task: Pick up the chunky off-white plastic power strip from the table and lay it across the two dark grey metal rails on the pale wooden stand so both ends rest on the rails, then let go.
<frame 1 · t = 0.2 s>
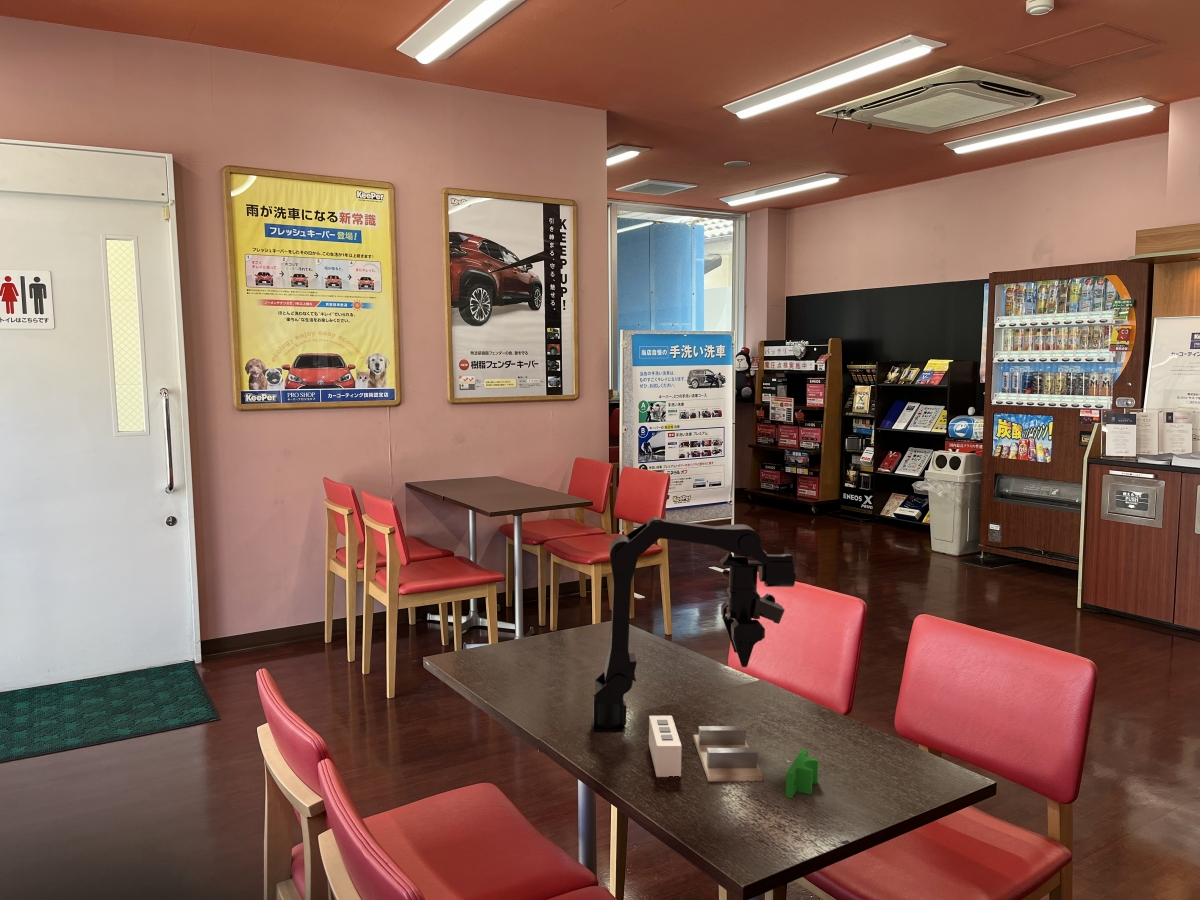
hand: (740, 659, 176), 14 cm above the table, tool pointing down, fingers open, 9 cm apart
power strip: (664, 760, 161), on the table
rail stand: (726, 759, 161), on the table
pipe clamp: (803, 787, 151), on the table
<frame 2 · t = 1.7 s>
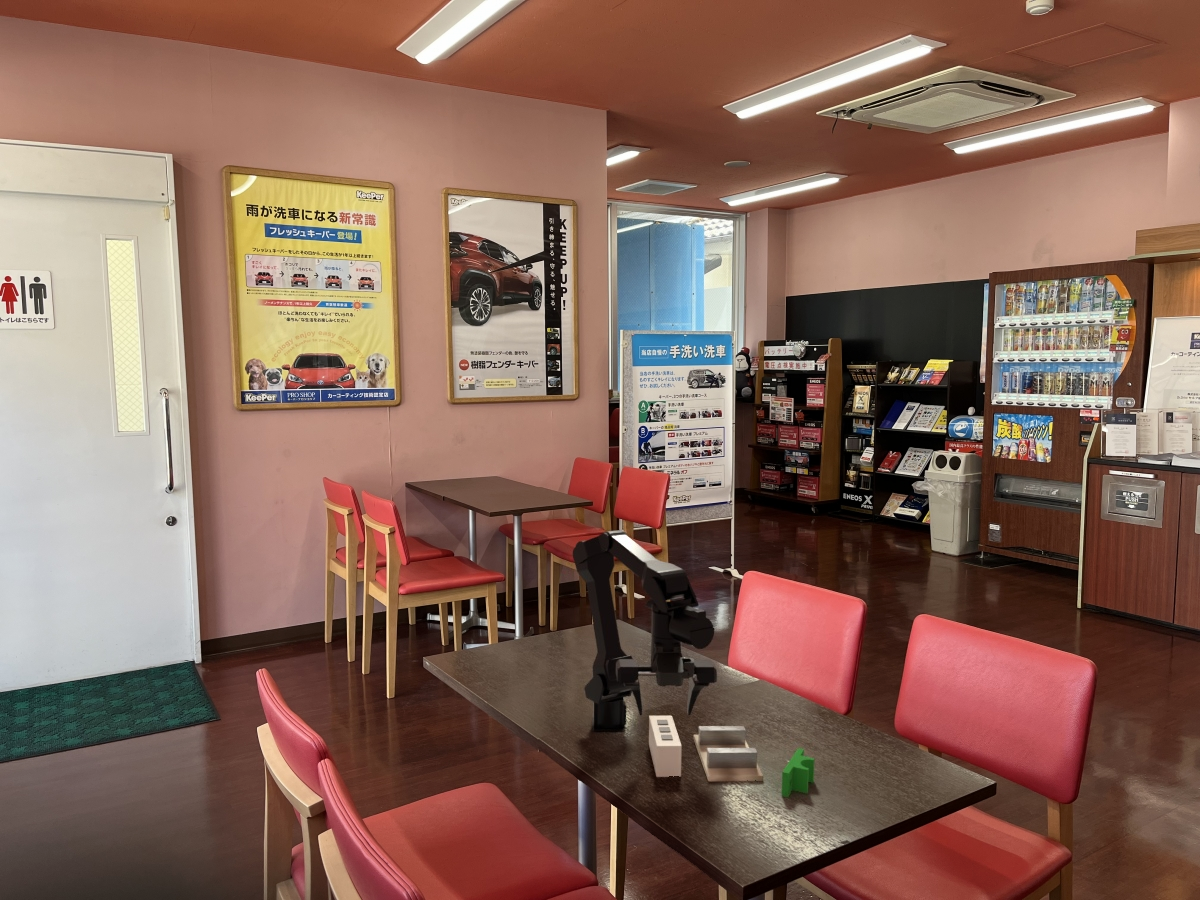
hand: (664, 714, 160), 9 cm above the table, tool pointing down, fingers open, 9 cm apart
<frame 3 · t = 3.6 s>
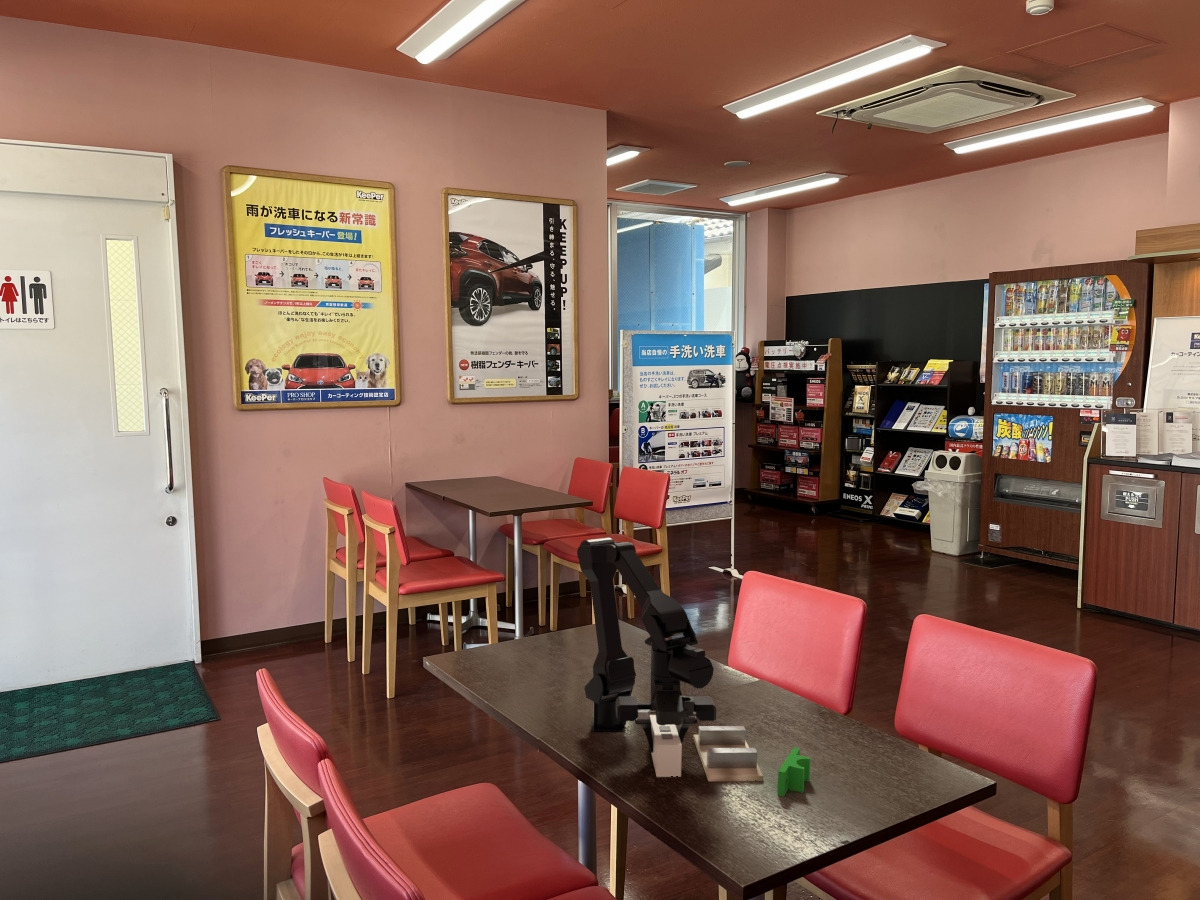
hand: (664, 751, 161), 2 cm above the table, tool pointing down, fingers closed on power strip, 4 cm apart
power strip: (664, 759, 161), on the table, touching gripper
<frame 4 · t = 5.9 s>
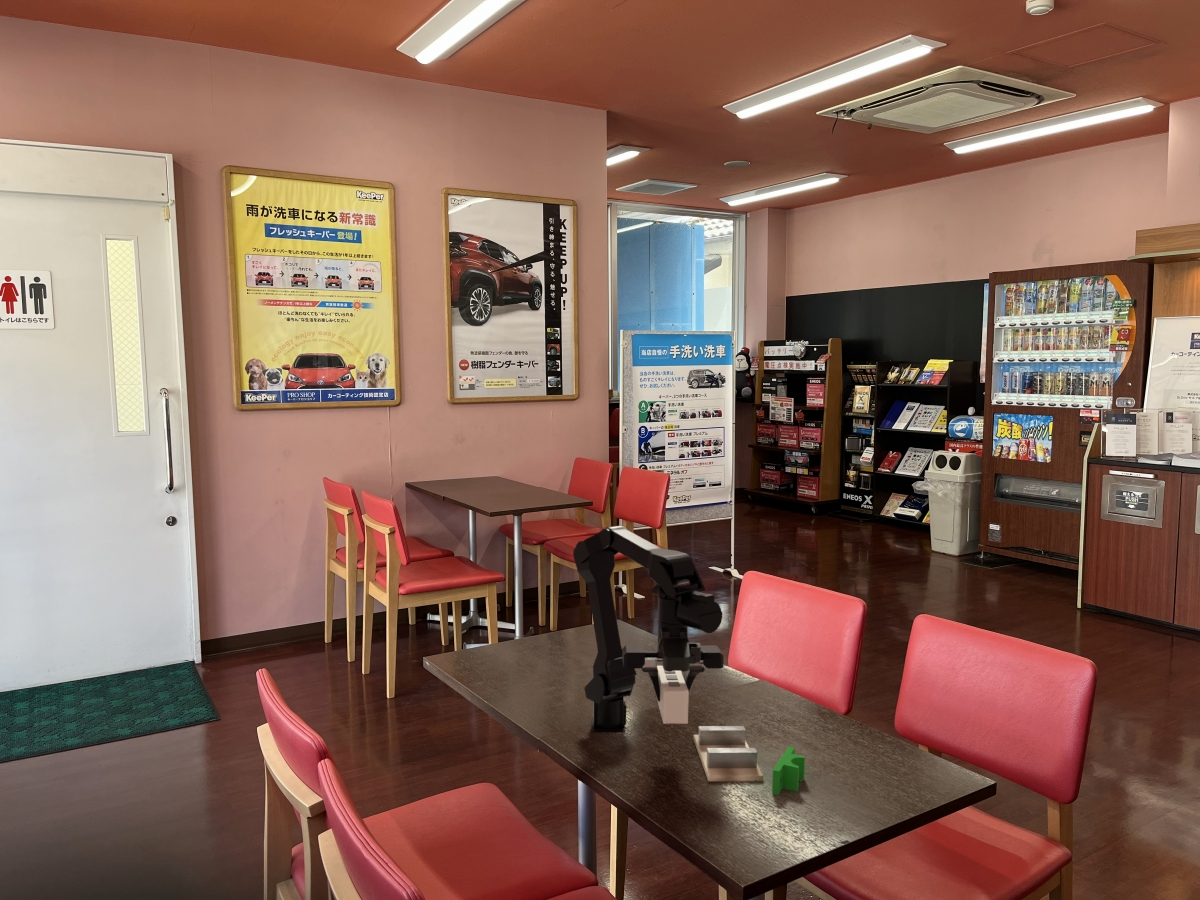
hand: (671, 700, 160), 12 cm above the table, tool pointing down, fingers closed on power strip, 4 cm apart
power strip: (671, 708, 160), point 10 cm above the table, touching gripper
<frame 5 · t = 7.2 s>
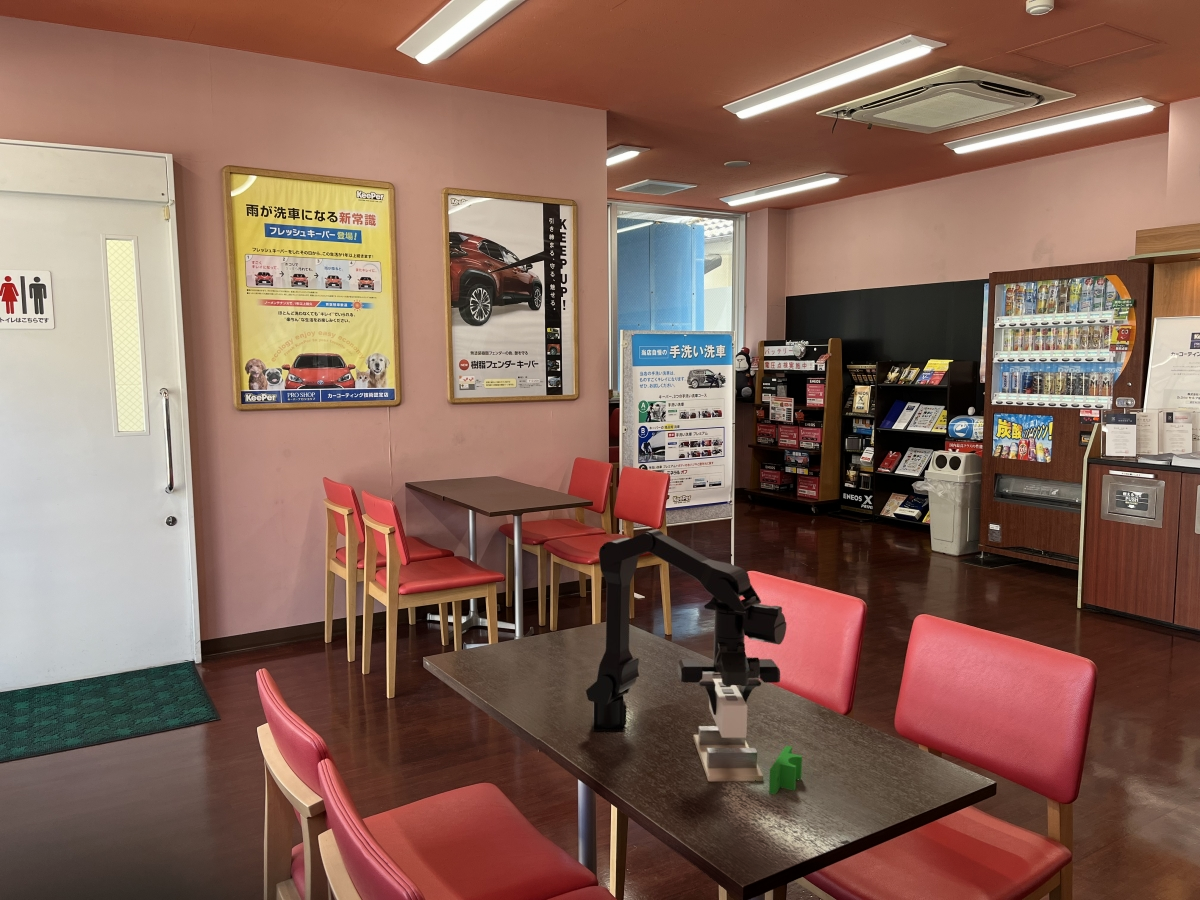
hand: (727, 714, 161), 9 cm above the table, tool pointing down, fingers closed on power strip, 4 cm apart
power strip: (726, 722, 161), point 7 cm above the table, touching gripper
when the fingers open (7 cm above the table, at t = 8.2 s): power strip drops 1 cm, resting on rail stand.
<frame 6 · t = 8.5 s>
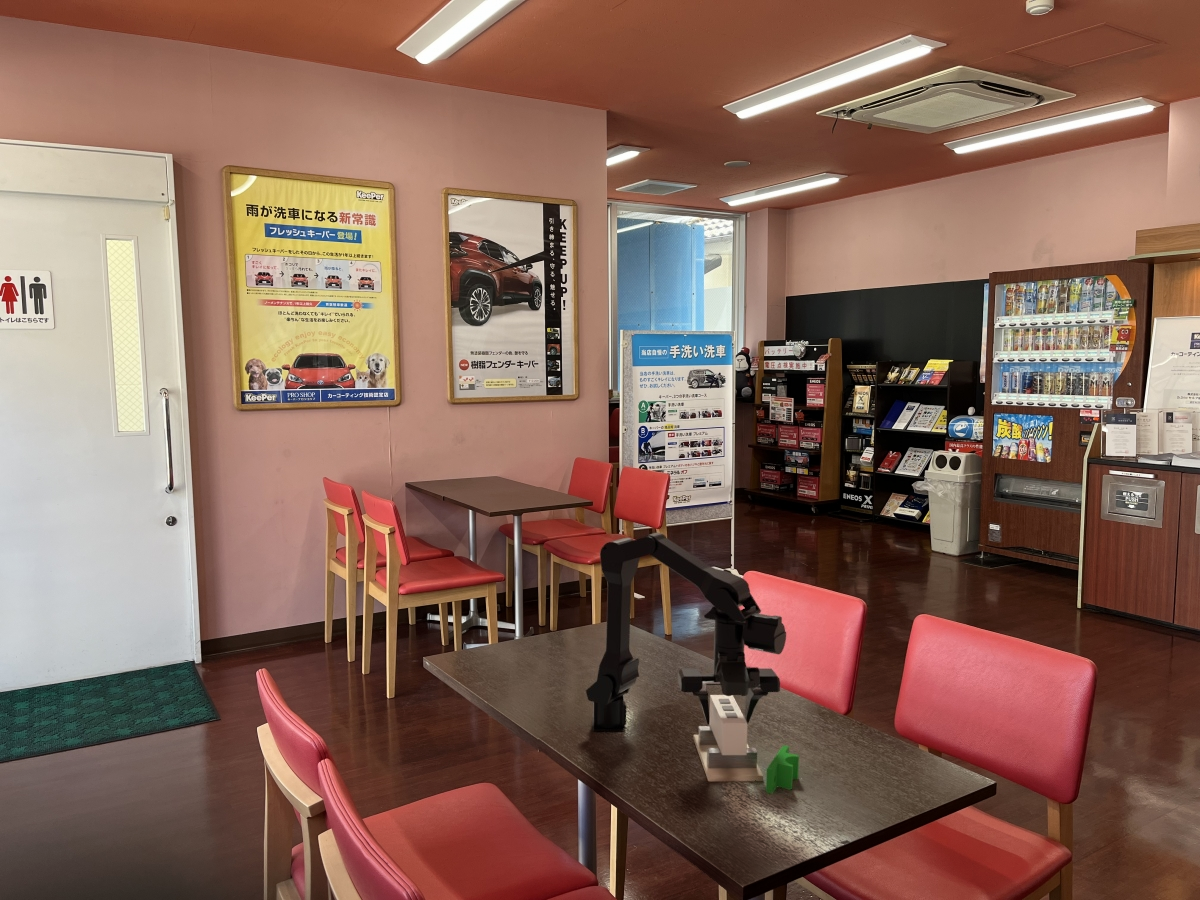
hand: (727, 723, 161), 7 cm above the table, tool pointing down, fingers open, 7 cm apart
power strip: (727, 738, 161), point 4 cm above the table, touching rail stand
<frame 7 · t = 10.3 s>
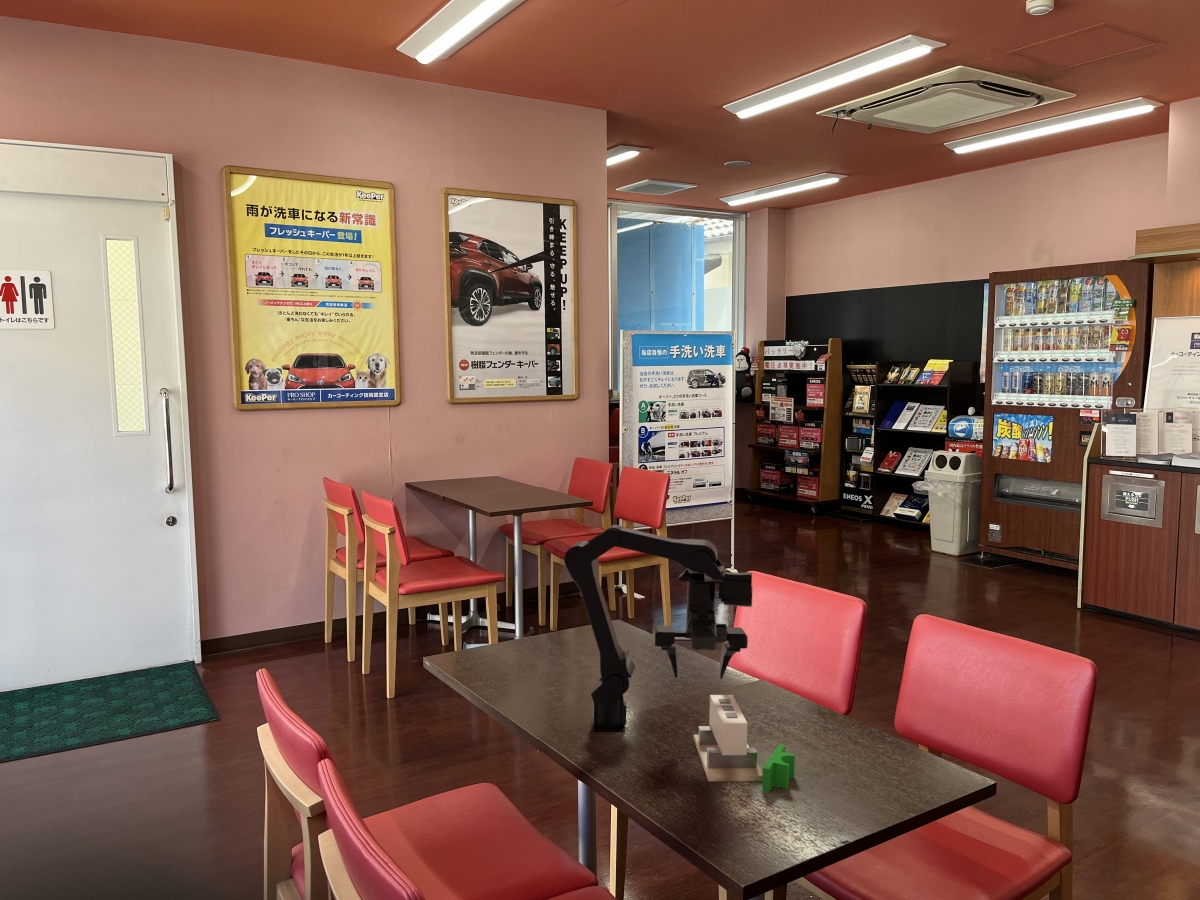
hand: (698, 677, 172), 12 cm above the table, tool pointing down, fingers open, 9 cm apart
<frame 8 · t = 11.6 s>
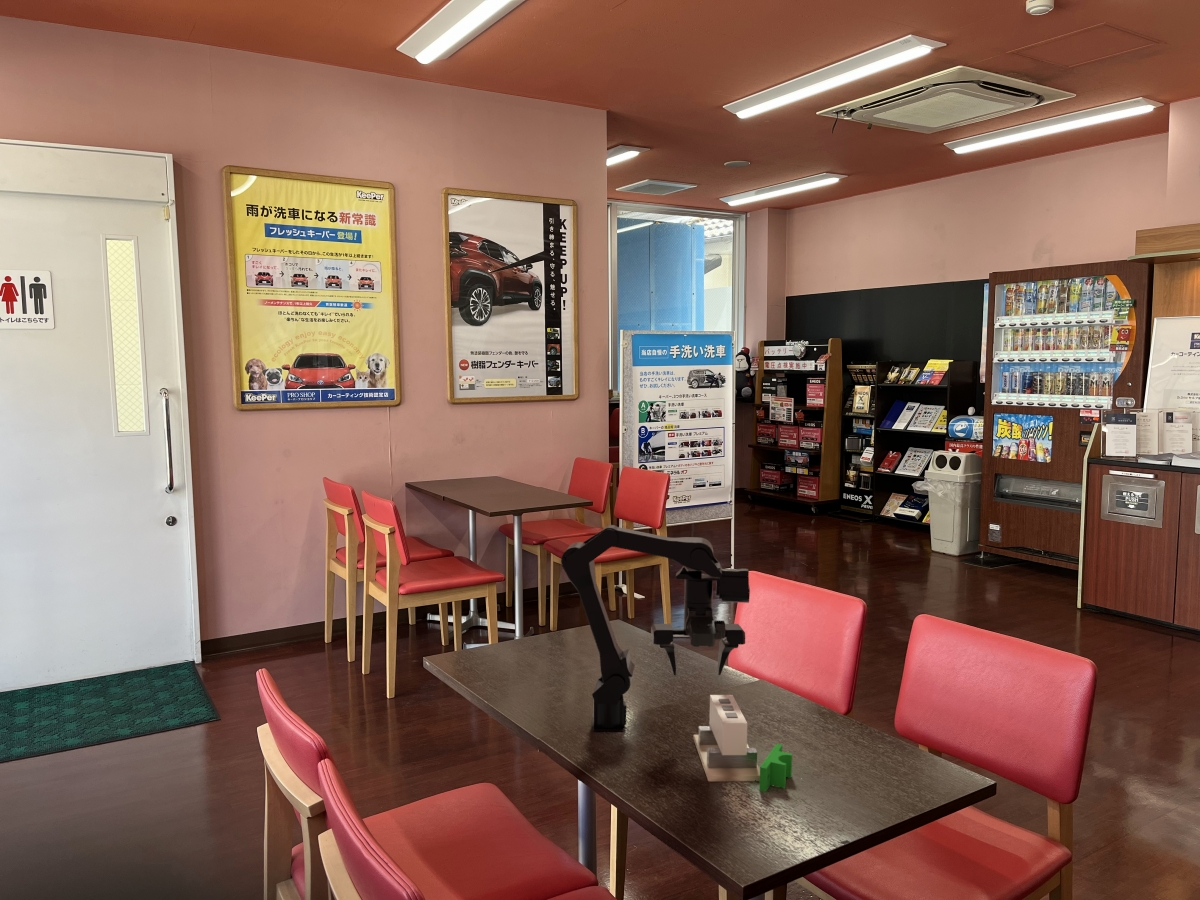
hand: (696, 674, 173), 12 cm above the table, tool pointing down, fingers open, 9 cm apart
at the end: power strip 0.0 cm off-centre on the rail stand, point 4.0 cm above the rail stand's base; power strip tilted 0°; the gripper is holding nothing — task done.
